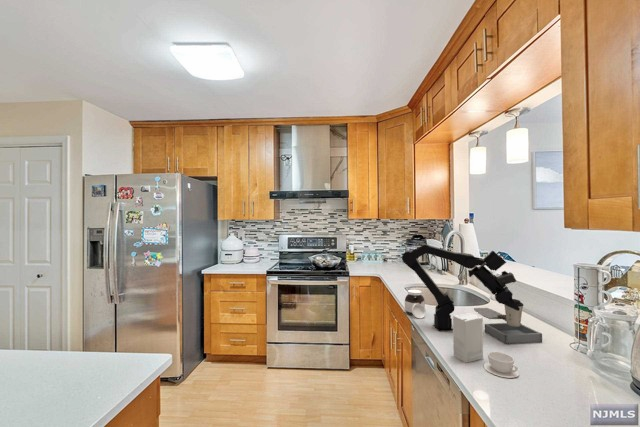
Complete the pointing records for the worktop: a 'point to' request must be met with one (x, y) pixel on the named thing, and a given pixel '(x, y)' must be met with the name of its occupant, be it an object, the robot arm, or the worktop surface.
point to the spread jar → (415, 304)
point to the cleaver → (490, 313)
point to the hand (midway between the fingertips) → (517, 307)
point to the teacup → (501, 365)
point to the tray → (513, 333)
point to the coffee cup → (514, 314)
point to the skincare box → (468, 337)
